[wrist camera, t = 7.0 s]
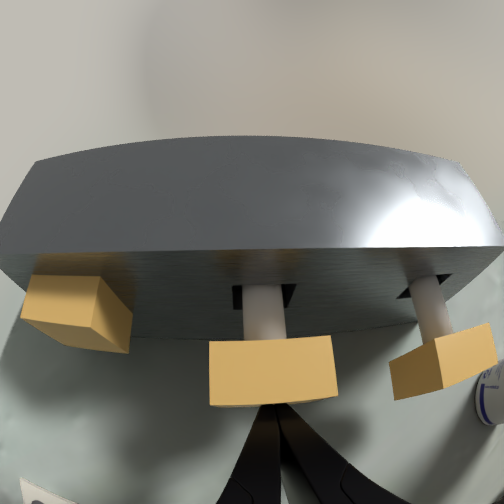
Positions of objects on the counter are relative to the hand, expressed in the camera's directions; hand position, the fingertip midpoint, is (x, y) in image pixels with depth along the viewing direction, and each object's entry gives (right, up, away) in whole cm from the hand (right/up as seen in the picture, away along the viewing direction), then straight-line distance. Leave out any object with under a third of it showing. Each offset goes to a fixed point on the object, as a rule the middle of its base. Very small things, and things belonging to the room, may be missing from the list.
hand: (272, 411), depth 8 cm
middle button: (0, +2, +4) cm, 5 cm away
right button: (+8, +1, +4) cm, 9 cm away
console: (-1, +3, +10) cm, 10 cm away
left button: (-8, +4, +5) cm, 11 cm away
